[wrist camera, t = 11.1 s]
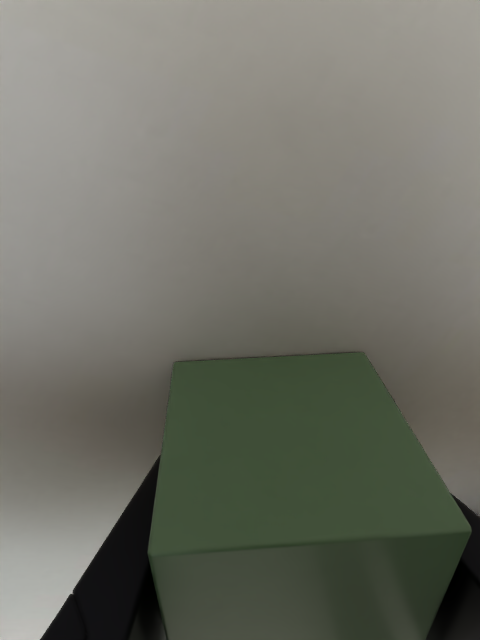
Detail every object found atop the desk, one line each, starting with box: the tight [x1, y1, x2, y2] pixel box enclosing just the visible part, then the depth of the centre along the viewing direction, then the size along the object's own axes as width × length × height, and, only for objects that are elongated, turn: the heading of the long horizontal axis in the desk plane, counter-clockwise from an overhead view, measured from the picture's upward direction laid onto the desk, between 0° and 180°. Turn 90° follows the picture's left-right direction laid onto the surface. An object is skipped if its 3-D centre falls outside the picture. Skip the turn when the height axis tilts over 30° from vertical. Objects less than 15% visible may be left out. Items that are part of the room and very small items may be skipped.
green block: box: [148, 352, 472, 640], centre depth 8 cm, size 4×4×4 cm
